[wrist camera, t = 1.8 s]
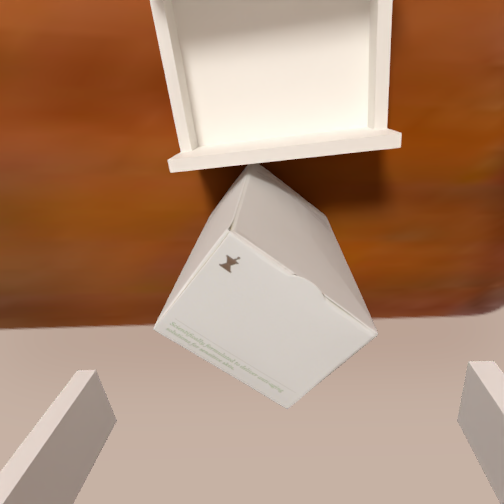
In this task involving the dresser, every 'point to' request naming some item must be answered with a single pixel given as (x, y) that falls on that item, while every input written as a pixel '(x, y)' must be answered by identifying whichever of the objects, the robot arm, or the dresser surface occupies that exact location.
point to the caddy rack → (275, 78)
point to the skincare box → (268, 292)
